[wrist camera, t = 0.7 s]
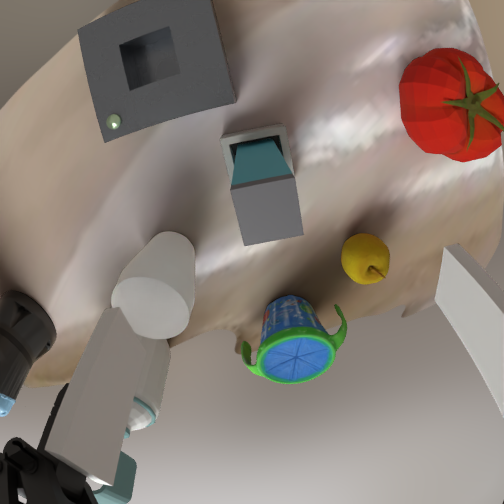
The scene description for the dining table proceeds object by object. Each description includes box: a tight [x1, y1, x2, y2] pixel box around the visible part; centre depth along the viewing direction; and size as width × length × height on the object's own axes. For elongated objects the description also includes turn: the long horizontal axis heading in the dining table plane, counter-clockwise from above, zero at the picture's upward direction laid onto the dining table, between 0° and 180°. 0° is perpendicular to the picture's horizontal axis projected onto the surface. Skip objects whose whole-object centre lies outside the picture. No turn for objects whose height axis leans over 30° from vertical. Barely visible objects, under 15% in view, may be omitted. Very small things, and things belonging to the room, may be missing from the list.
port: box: [78, 0, 237, 143], centre depth 25 cm, size 14×14×6 cm
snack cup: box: [241, 295, 347, 384], centre depth 41 cm, size 16×10×10 cm
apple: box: [341, 233, 390, 284], centre depth 36 cm, size 6×6×8 cm
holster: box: [220, 124, 295, 183], centre depth 32 cm, size 7×7×3 cm
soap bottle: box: [92, 333, 171, 504], centre depth 35 cm, size 12×12×31 cm
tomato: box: [399, 48, 504, 162], centre depth 24 cm, size 13×14×12 cm
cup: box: [111, 231, 195, 339], centre depth 34 cm, size 9×9×12 cm
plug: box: [230, 138, 304, 246], centre depth 26 cm, size 4×4×17 cm
